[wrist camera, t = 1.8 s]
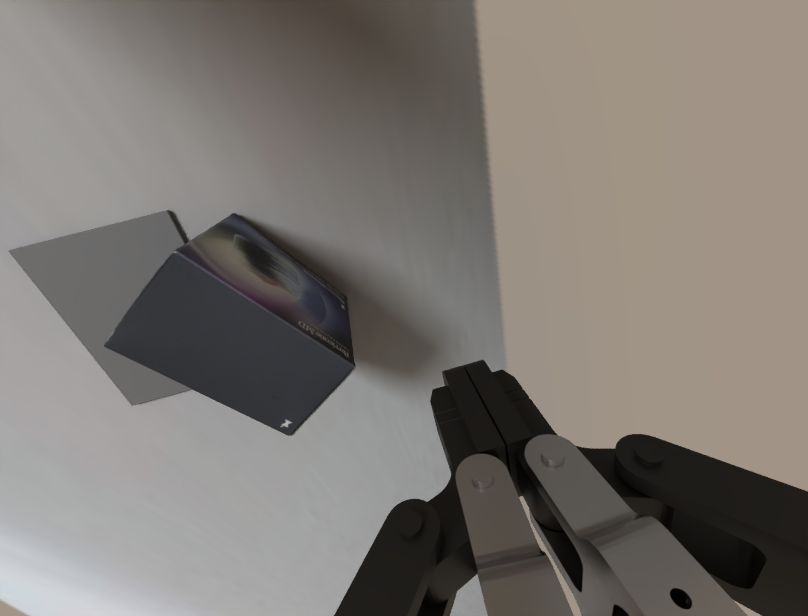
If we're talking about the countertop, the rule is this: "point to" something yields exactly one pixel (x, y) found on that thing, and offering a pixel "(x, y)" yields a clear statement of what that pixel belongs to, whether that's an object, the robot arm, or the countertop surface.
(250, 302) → the small box
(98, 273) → the mat
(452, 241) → the countertop surface
